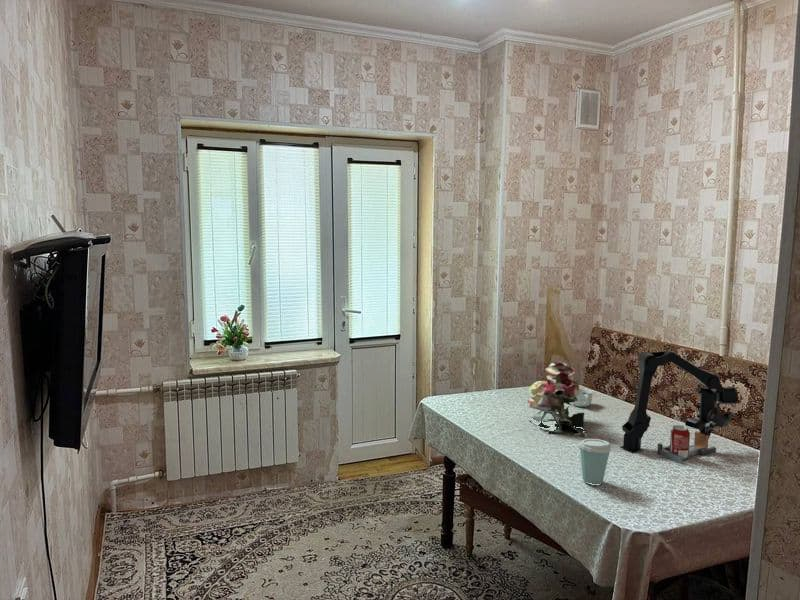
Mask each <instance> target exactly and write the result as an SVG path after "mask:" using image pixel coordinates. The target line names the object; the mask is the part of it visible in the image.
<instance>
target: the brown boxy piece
mask: <svg viewBox="0 0 800 600" xmlns="http://www.w3.org/2000/svg"><path fill="white" fill-rule="evenodd" d="M708 437H709V435H706V434H703V433H700V431H695V432H694V442H693V443H694V444H693V445H696V446H692V447H689V457H690V456H695V455H700V450H701V449H706V448H709V439H708ZM709 438H710V437H709Z"/></svg>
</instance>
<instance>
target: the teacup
mask: <svg viewBox="0 0 800 600" xmlns="http://www.w3.org/2000/svg"><path fill="white" fill-rule="evenodd" d="M579 389H580V390H579V394H578V396H577V399H578V400H579V401H575V402H572V403H571V404H572V405H573V406H575V407H579V408H587V407H588V406H590V405H591V404H592V401H593V393H594V392H593V391H592V390H590V389H586V388H580V387H579ZM583 392H585V393H587V394H583Z"/></svg>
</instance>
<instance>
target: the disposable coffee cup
mask: <svg viewBox="0 0 800 600" xmlns="http://www.w3.org/2000/svg"><path fill="white" fill-rule="evenodd" d="M579 451H580V452H579V453H580V461H581V462H580V463H581V464H580V465H581V471H582V474H581V475H582V480H583V482H584V481H585V482H588V483H592V484H600V483H602V484H603V483H604V479H605V474H606V470H607V464H608V460H609V457H610V456H609V455H610V452H611V451H612V447H611V444H610V442H609V441H607V440H603V439H600V438H599V439H598V438H585V439H582V440H581V441H580V442H579ZM585 482H584V483H585Z"/></svg>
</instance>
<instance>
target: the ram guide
mask: <svg viewBox="0 0 800 600" xmlns="http://www.w3.org/2000/svg"><path fill="white" fill-rule="evenodd" d="M692 446H696V445H694V444H690V445H689V447H692ZM714 453H717V447H716V446H709V447H708V448H706V449H701V450H700V454H699V456H700V455H701V456H707V455H710V454H711V455H712V454H714Z"/></svg>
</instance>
